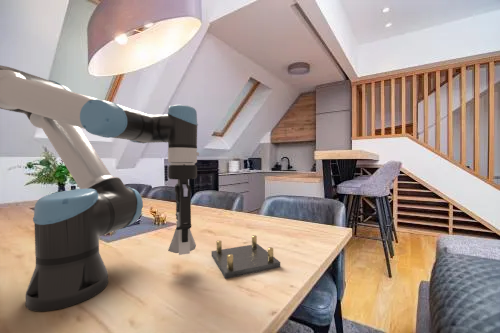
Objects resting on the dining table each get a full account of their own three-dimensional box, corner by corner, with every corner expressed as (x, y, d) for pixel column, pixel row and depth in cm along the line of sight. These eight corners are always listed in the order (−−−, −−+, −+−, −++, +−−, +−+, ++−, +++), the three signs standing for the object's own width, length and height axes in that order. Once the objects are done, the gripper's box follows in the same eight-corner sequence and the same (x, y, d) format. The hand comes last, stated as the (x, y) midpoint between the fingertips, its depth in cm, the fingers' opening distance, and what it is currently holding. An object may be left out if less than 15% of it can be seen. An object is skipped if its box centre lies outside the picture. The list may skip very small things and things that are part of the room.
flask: (188, 255, 59) (188, 216, 58) (163, 253, 60) (163, 214, 60) (200, 245, 66) (200, 210, 65) (177, 243, 67) (177, 209, 67)
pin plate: (225, 278, 59) (224, 259, 59) (211, 255, 74) (211, 240, 73) (280, 267, 65) (280, 249, 65) (257, 248, 79) (257, 233, 79)
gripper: (203, 164, 54) (203, 260, 55) (191, 163, 73) (191, 235, 74) (170, 164, 52) (170, 266, 52) (166, 163, 70) (166, 238, 71)
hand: (182, 247), depth 63 cm, fingers closed on flask, 7 cm apart
